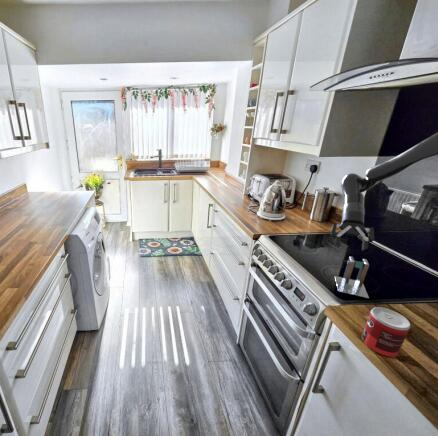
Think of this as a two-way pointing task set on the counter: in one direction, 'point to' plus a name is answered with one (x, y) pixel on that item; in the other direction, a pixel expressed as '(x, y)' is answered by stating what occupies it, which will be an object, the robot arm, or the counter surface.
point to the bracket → (353, 285)
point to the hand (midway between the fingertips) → (350, 248)
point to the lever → (356, 265)
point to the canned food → (385, 331)
